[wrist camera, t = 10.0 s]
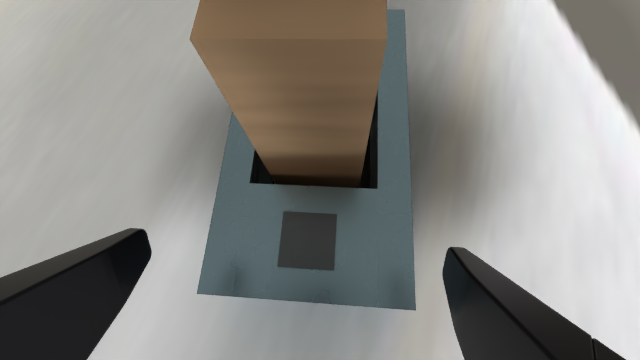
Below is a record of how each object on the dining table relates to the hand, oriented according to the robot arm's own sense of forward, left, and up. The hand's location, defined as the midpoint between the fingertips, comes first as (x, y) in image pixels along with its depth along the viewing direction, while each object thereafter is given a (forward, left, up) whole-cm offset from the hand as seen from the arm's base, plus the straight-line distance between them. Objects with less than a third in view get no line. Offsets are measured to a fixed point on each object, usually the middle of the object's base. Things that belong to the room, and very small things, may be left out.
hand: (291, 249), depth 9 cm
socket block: (+6, +3, -8) cm, 10 cm away
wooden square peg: (+6, +3, -8) cm, 10 cm away
